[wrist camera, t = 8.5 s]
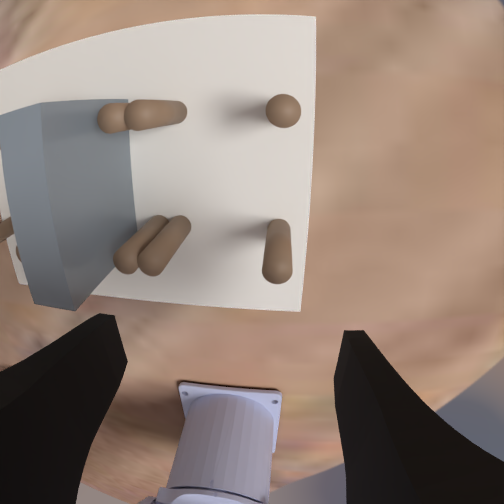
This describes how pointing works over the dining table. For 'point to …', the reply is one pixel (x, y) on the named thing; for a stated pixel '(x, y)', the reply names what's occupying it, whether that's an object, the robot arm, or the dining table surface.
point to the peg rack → (197, 152)
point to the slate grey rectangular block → (66, 196)
